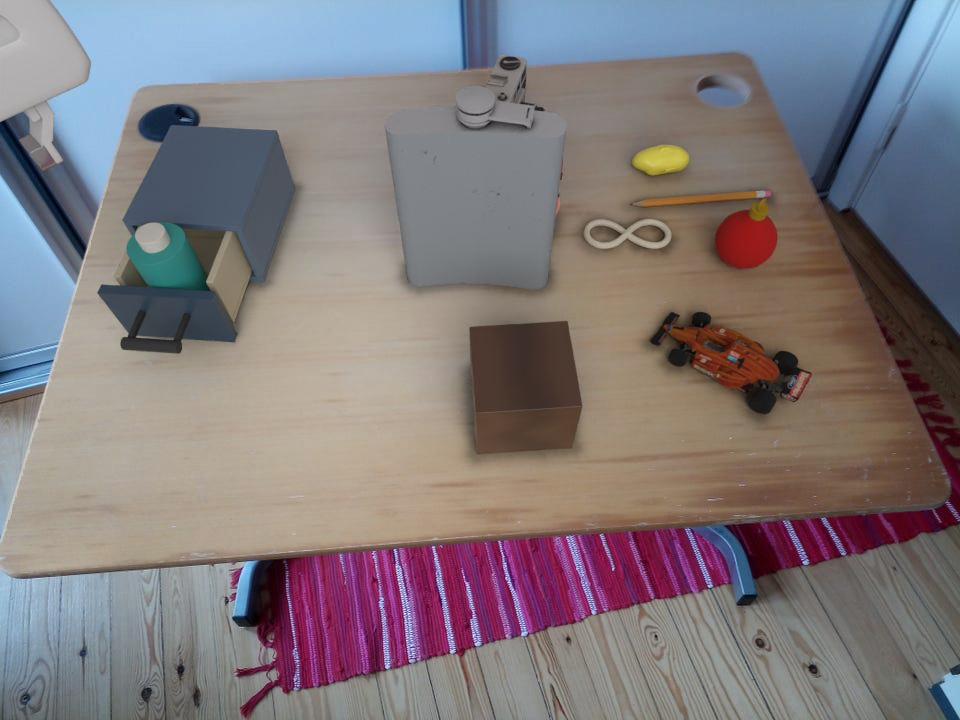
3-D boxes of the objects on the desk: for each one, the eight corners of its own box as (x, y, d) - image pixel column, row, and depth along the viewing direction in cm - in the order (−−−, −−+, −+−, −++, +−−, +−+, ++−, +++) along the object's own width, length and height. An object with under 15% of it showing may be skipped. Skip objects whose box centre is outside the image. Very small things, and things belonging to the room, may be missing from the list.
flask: (547, 261, 84) (568, 84, 63) (547, 290, 81) (569, 115, 61) (409, 258, 84) (384, 80, 63) (405, 286, 82) (379, 111, 61)
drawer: (222, 378, 74) (196, 338, 67) (113, 371, 74) (77, 330, 68) (269, 242, 85) (251, 196, 78) (174, 236, 85) (148, 190, 79)
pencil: (767, 191, 90) (628, 202, 89) (771, 189, 89) (630, 199, 88) (768, 198, 90) (629, 209, 89) (772, 195, 89) (631, 206, 88)
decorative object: (581, 222, 87) (585, 251, 84) (582, 216, 86) (586, 245, 84) (666, 222, 88) (673, 250, 85) (668, 216, 87) (675, 245, 84)
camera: (522, 184, 91) (523, 121, 83) (462, 168, 94) (457, 106, 85) (557, 124, 98) (561, 61, 90) (500, 111, 101) (499, 48, 92)
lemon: (689, 179, 92) (697, 157, 89) (631, 181, 92) (637, 158, 89) (683, 159, 94) (690, 136, 91) (626, 160, 94) (632, 138, 91)
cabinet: (264, 282, 82) (240, 226, 74) (156, 275, 83) (121, 220, 75) (295, 188, 91) (277, 130, 83) (198, 183, 92) (171, 124, 84)
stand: (476, 454, 70) (476, 413, 62) (470, 373, 75) (469, 326, 67) (572, 448, 70) (582, 406, 62) (559, 367, 75) (567, 320, 68)
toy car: (675, 307, 80) (684, 284, 76) (807, 377, 74) (824, 355, 71) (643, 350, 77) (650, 328, 73) (779, 427, 71) (795, 407, 67)
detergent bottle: (181, 331, 76) (137, 264, 66) (155, 301, 78) (108, 232, 69) (227, 302, 78) (190, 233, 69) (200, 274, 81) (161, 203, 71)
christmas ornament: (727, 229, 87) (753, 169, 78) (776, 258, 84) (808, 199, 76) (696, 259, 84) (720, 200, 76) (745, 290, 81) (775, 232, 73)
